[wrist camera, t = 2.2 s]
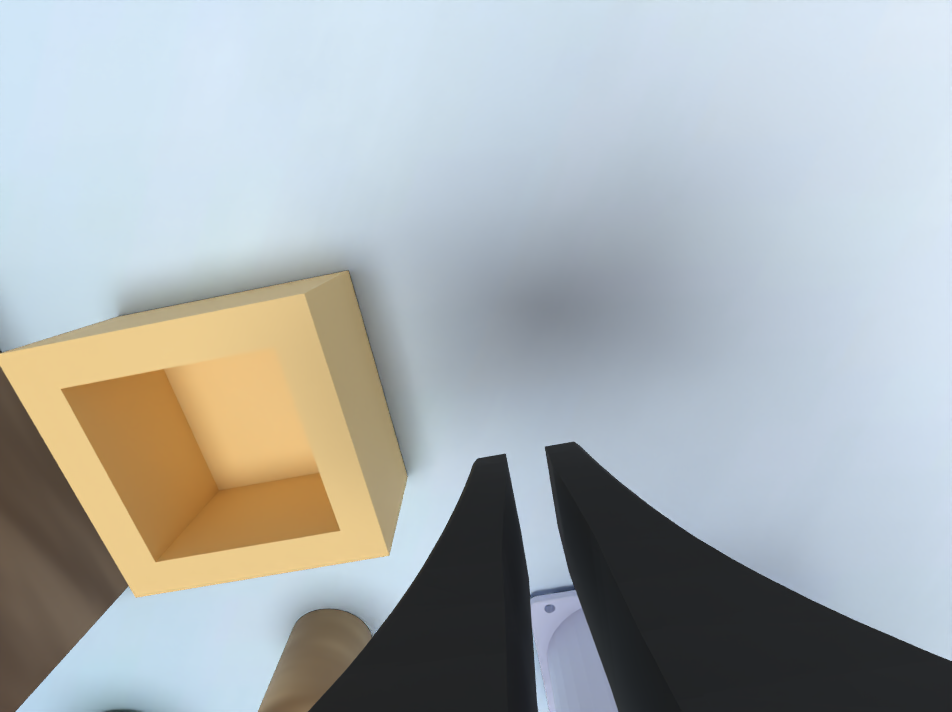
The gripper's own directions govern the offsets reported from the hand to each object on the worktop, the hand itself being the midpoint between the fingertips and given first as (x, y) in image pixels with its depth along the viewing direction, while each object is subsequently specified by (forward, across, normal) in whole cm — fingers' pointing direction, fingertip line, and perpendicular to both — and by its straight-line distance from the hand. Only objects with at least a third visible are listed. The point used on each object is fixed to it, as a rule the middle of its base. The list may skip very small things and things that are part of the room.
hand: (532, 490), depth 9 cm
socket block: (+8, +10, 0) cm, 13 cm away
